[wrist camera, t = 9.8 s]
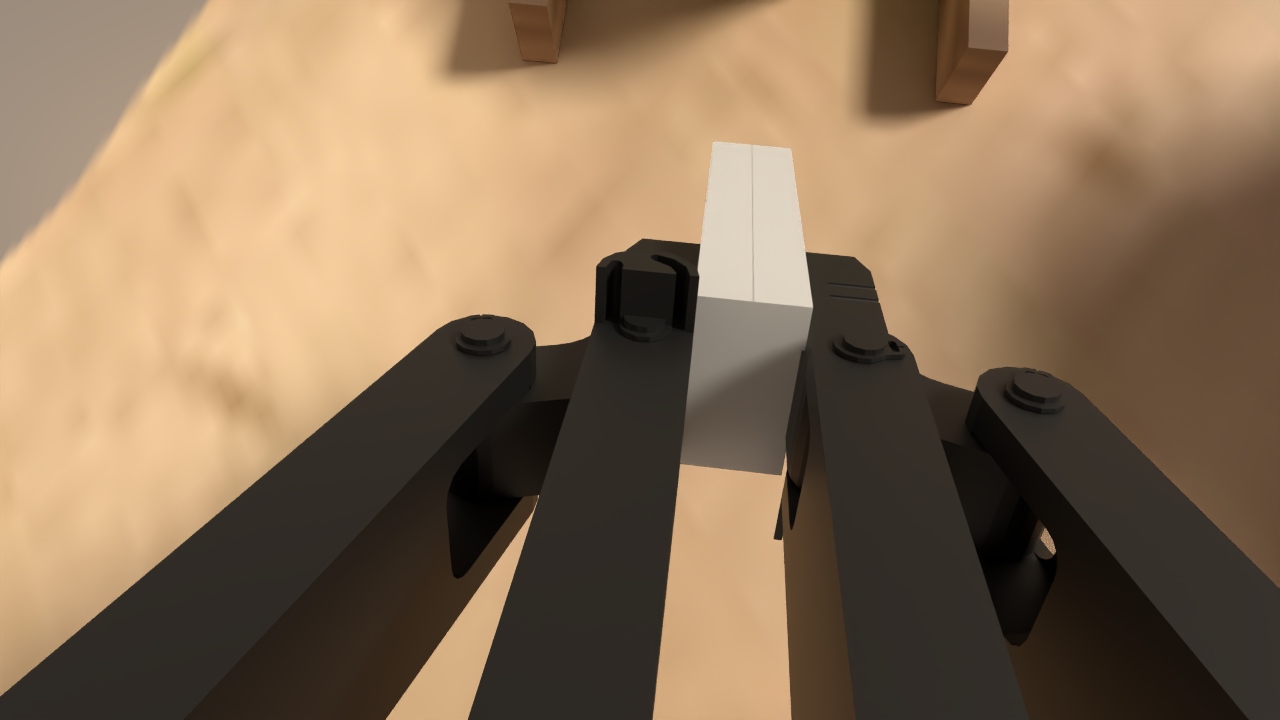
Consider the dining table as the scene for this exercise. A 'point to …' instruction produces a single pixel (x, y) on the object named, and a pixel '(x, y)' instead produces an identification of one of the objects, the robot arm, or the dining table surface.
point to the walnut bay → (963, 49)
